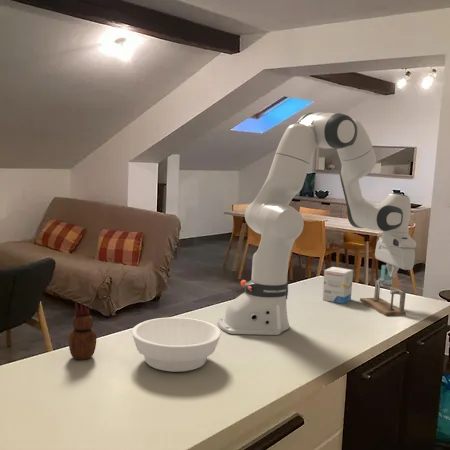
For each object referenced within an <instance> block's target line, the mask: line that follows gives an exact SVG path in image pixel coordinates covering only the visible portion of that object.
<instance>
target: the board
mask: <svg viewBox="0 0 450 450" xmlns="http://www.w3.org/2000/svg"><path fill="white" fill-rule="evenodd" d="M377 280H378V279H376V280H375V281H374V283H375V285H374V296H373V297H360V298H359V302H360V301H361V303H362V302H363V303H362V304H364V305H366V306H367V305H368V306H367V307H369V306H370V307H369V308H371V309H373V310H374V311H376V312H378V313H380V314H381V315H383V316H385V317H389V316H390V317H391V316H393V317H394V316H406V315H407V311H406V310H405V305H406V303H405V302H406V294H407V293H406V292H405V291H403V290H402V289H401V290H400V289H398V288H397V287H394V286H392V285H391V284H381V283H380V287H382V288H384V289H386V290H388V291H390V295H391V297H390V302H389V301H386V300H384V299H382V298H380V297H379V301H377V294H378V283H377ZM394 295H399V304H398V305H399V307H398V306H396V305H394V297H395V296H394Z"/></svg>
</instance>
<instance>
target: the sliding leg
mask: <svg viewBox="0 0 450 450" xmlns="http://www.w3.org/2000/svg"><path fill="white" fill-rule="evenodd" d="M380 268H381V269H380V270H381V271H380V277H379V278H378V279H376V280H377V283H378V294H377V301H379V298H380V294H381V292H380V291H381V286H380V283H381V284H388V285H393V279H392V278H393V277H390V276H388V270H387V266H386V264H382V265H381V267H380Z"/></svg>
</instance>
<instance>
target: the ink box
mask: <svg viewBox="0 0 450 450" xmlns="http://www.w3.org/2000/svg"><path fill="white" fill-rule="evenodd" d="M323 272H324V273H323V285H322V286H323V288H322V289H323V290H322V300H323V301H328V302H332V303H337V304H338V303H339V304H343V305H345V304H347V302H350V301H351V300H352V292H353V291H352V289H353V277H354V269H349V268H343V267H338V266H337V267H336V266H331V267H329V268H327V269H324V270H323Z"/></svg>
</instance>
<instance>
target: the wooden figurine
mask: <svg viewBox="0 0 450 450" xmlns="http://www.w3.org/2000/svg"><path fill="white" fill-rule="evenodd" d="M83 304H84V303H83V302H82V301H81V302H80V307H79V305H78V301H75V302H74V317H73V318H72V328H73V329H72V330H71V331H70V332H69V335H68V348H69V349H68V350H69V352H70V355H71V357H72V358H73V359H74V360H80V361H81V360H82V361H84V360H88V359H91V358H92V357H93V356H94V354H95V351H96V347H97V333H96V331H95V330H94V329H93V328H92V327H93V325H94V319H93V317H92V315H91V311H90V308H87V305H84V306H83Z"/></svg>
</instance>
